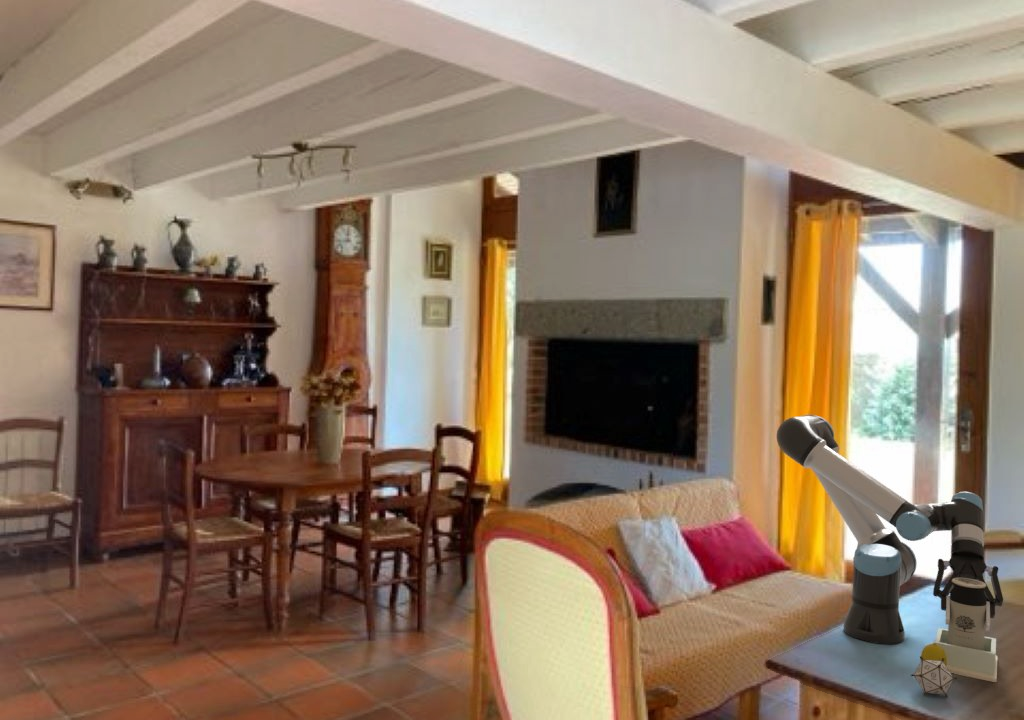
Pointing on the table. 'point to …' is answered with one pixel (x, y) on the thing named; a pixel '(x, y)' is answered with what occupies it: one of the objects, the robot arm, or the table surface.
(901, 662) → the table surface
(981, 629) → the travel mug
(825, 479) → the robot arm
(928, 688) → the game die
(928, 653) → the lemon
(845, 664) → the table surface
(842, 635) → the table surface
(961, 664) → the holder
